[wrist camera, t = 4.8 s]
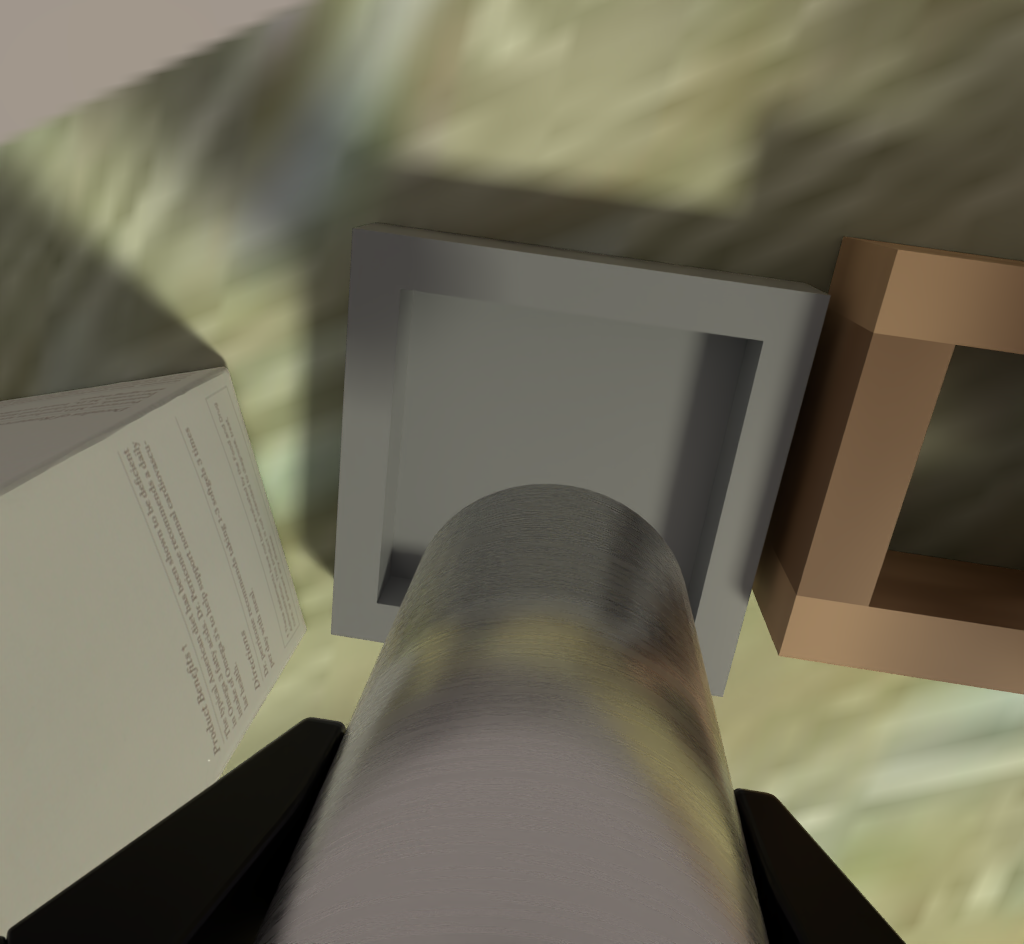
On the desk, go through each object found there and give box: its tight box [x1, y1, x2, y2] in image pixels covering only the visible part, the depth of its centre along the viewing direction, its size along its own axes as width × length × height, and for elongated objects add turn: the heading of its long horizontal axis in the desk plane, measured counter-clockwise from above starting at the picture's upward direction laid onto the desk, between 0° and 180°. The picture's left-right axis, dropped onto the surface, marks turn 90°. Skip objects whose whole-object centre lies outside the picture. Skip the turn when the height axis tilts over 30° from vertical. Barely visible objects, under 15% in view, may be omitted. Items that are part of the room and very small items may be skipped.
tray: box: [331, 223, 831, 697], centre depth 17 cm, size 9×9×2 cm
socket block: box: [752, 236, 1024, 694], centre depth 16 cm, size 8×8×3 cm
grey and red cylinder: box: [253, 484, 769, 944], centre depth 7 cm, size 4×4×9 cm
